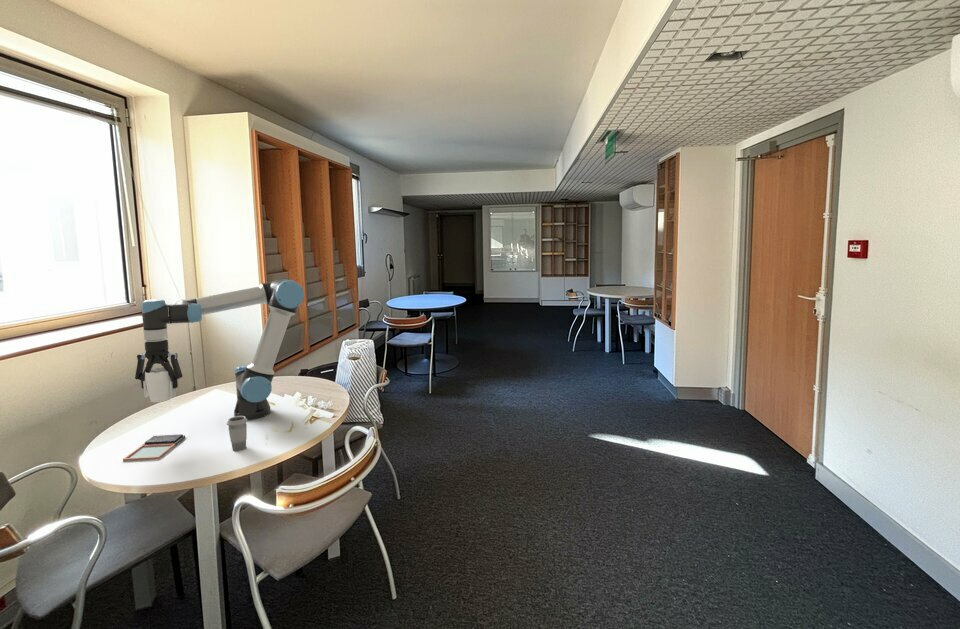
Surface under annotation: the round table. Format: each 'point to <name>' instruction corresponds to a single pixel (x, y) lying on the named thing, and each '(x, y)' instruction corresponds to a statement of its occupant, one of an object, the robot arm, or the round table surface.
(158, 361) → the robot arm
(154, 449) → the print frame
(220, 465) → the round table surface
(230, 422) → the cup
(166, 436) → the ink pad
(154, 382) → the cup
